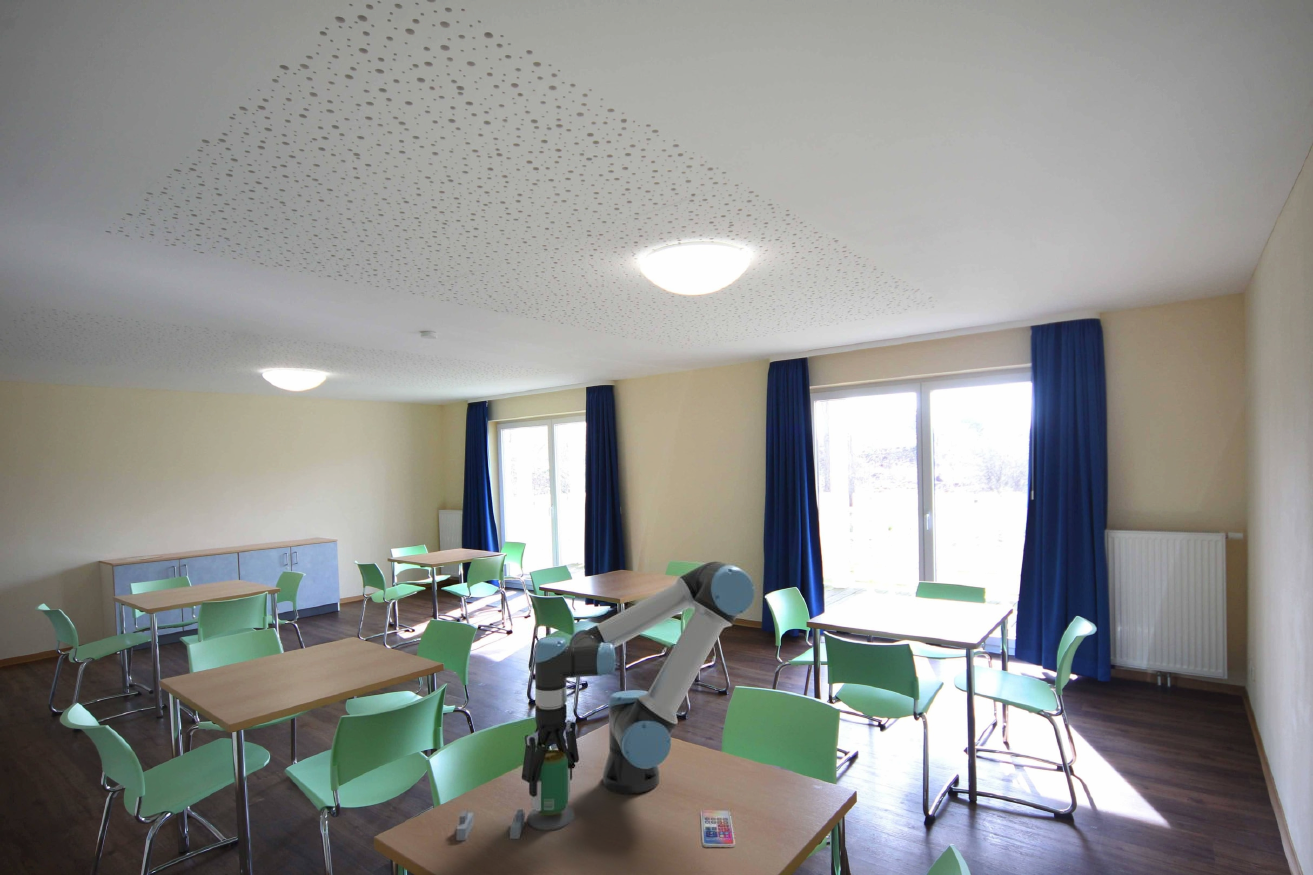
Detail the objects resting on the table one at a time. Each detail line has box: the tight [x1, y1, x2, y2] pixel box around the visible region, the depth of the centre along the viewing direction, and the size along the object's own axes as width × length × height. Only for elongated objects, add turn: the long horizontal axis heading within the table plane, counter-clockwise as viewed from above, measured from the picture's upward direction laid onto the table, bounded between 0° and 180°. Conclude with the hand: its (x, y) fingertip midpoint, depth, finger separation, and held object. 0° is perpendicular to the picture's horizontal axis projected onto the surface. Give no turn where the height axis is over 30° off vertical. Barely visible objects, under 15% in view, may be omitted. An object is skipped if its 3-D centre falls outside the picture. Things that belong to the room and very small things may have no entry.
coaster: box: [527, 805, 575, 832], centre depth 151 cm, size 11×11×1 cm
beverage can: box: [537, 749, 569, 815], centre depth 152 cm, size 8×8×12 cm
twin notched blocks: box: [456, 808, 526, 841], centre depth 146 cm, size 14×7×4 cm, turn 92°
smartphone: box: [700, 809, 736, 848], centre depth 145 cm, size 7×1×15 cm
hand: (551, 801), depth 151 cm, fingers closed on beverage can, 8 cm apart
